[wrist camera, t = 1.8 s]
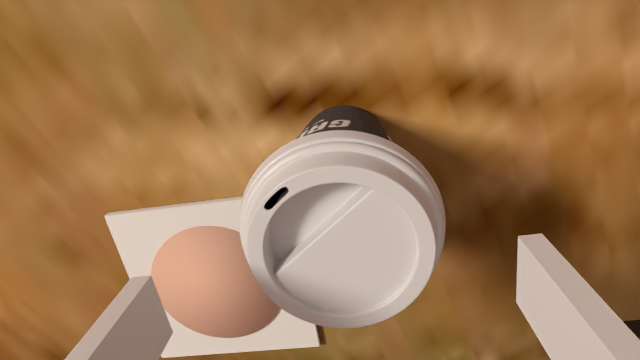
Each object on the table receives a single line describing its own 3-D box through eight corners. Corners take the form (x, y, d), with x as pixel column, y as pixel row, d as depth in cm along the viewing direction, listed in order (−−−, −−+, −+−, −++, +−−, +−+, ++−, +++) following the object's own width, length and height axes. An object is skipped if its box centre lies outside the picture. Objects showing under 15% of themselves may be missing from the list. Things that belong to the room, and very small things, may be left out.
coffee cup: (380, 62, 28) (411, 104, 14) (423, 178, 31) (485, 308, 17) (261, 114, 30) (184, 197, 16) (313, 218, 33) (286, 364, 19)
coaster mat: (288, 190, 32) (286, 194, 31) (320, 341, 38) (319, 347, 37) (108, 212, 34) (102, 217, 33) (164, 353, 40) (161, 359, 39)
